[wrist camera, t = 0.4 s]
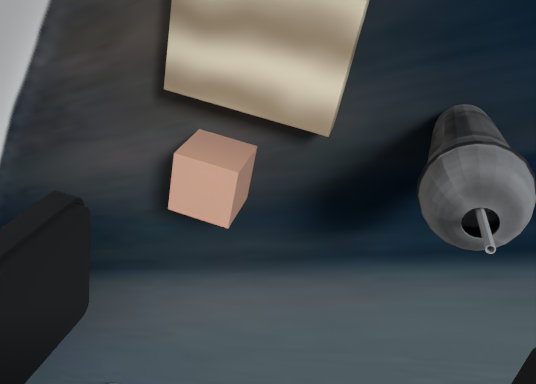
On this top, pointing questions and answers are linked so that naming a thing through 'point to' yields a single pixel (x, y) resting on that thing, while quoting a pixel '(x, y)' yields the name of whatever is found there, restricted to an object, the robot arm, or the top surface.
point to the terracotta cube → (211, 177)
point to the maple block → (265, 56)
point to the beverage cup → (474, 182)
